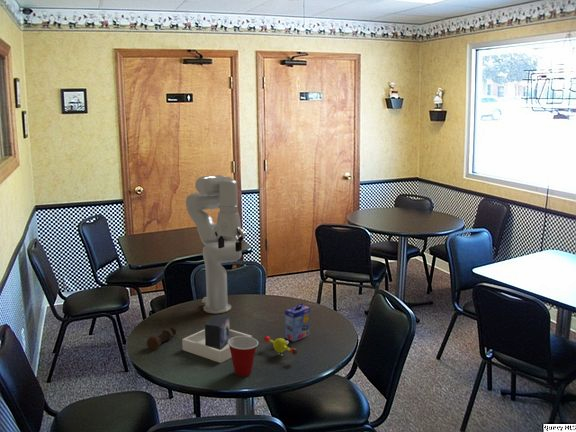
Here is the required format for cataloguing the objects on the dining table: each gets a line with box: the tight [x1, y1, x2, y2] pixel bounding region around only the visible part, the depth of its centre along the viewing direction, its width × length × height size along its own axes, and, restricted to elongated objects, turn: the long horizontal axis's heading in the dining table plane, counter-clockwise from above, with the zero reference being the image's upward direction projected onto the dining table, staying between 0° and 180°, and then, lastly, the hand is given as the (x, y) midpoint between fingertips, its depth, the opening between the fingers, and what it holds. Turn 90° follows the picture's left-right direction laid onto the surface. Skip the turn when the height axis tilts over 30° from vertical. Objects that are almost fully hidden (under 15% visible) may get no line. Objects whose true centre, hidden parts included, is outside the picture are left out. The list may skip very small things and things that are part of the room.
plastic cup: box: [228, 336, 259, 377], centre depth 206 cm, size 11×11×12 cm
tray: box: [181, 328, 253, 364], centre depth 228 cm, size 20×18×4 cm
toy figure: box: [263, 335, 298, 357], centre depth 220 cm, size 18×6×7 cm, turn 42°
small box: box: [204, 314, 231, 350], centre depth 227 cm, size 11×6×10 cm, turn 164°
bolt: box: [146, 327, 177, 351], centre depth 234 cm, size 6×5×15 cm
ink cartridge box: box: [284, 302, 311, 342], centre depth 237 cm, size 10×6×14 cm, turn 137°
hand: (229, 249), depth 246 cm, fingers open, 9 cm apart
